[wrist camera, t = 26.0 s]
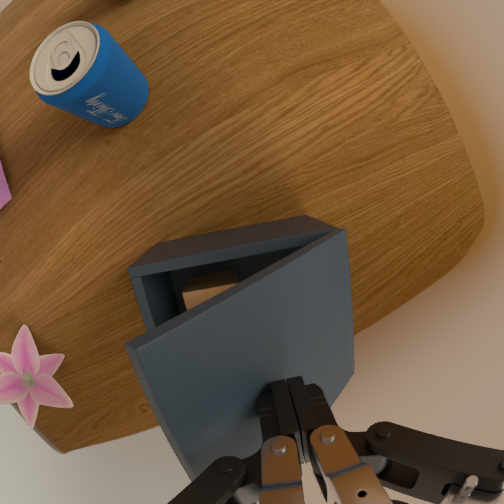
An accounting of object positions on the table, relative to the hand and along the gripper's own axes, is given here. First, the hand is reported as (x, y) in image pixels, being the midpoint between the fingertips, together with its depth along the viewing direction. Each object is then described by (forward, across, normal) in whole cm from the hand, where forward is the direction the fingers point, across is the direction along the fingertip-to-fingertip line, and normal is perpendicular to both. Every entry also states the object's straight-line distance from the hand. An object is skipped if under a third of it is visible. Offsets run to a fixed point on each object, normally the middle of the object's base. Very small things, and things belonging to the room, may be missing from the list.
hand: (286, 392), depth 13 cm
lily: (+17, +29, +6) cm, 34 cm away
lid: (+2, 0, 0) cm, 2 cm away
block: (+16, +4, 0) cm, 17 cm away
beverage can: (+17, +10, -21) cm, 29 cm away
